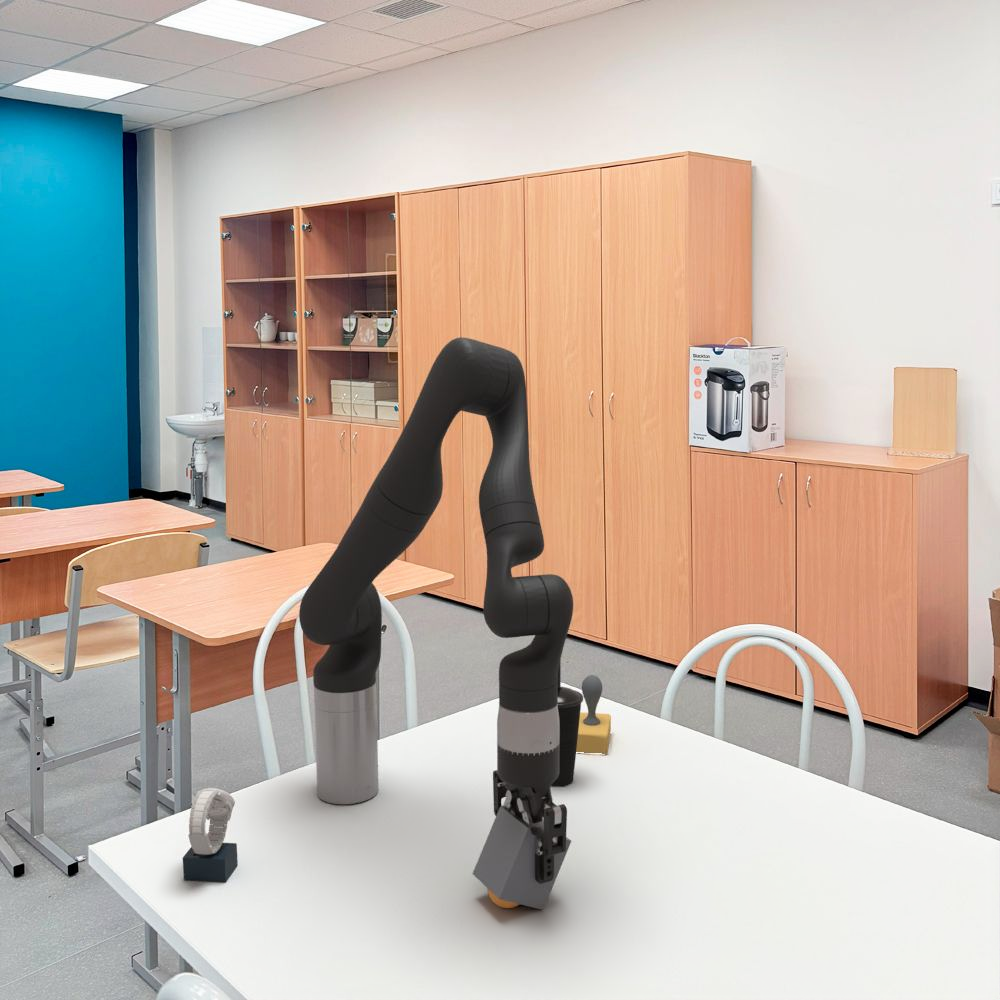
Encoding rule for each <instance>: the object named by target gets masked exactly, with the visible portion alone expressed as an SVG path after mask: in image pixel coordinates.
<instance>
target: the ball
mask: <svg viewBox="0 0 1000 1000" xmlns="http://www.w3.org/2000/svg"><path fill="white" fill-rule="evenodd" d="M486 890H487V894H488V896H489V898H490V900H491V901H492V902H493V903H494V904H495V905H497V906H498V907H500V908H503V909H512V908H516V907H518V906H520V904H517V903H513V902H509V901H505V900H501V899H498V898H497V897H496V896H495V895H494V894H493V893H492V892H491V891H490V890H489V889H488V888H487V887H486Z"/></svg>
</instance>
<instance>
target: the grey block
mask: <svg viewBox="0 0 1000 1000" xmlns="http://www.w3.org/2000/svg"><path fill="white" fill-rule="evenodd" d="M501 806H502V805H501ZM501 806H500V808H499V811H498V813H497V816H495V818H494V821H493V823H492V826H491V828H490V830H489V833H488V835H487V838H486V840H485V843H484V845H483V847H482V850H481V852H480V853H479V856H478V859H477V862H476V864H475V867H474V869H473V871H472V875H473V876H474V877H475V878H476V879H477V880H479V882H481V884H483V886H485V887H486V889H487V888H488V889H489V890H490V891H491V892H492V893H493V894H494V895H495V896H496V897H497V898H498V899H501V900H505V901H509V902H513V903H517V904H519V905H523V906H526V907H531V908H534V909H538V910H542V911H543V910H544V909H545V906H546V905H547V902H548V899H549V897H550V895H551V892H552V890H553V887H554V885H555V882H556V879H557V877H558V875H559V872H560V870H561V867H562V865H563V863H564V861H565V858H566V855H567V853H568V851H569V848H570V845H571V843H572V840H571V839H570V838H568V837H567V836H566V851H565V852H563V853H560V854H556V855H554V878H553V880H552V881H549V882H546V883H542V884H539V883H538V882H537V881H536V880H535V853H536V851H535V847H534V836H533V835H531V829H530V828H529V827H528V826H526V825H525V824H524V821H523V820H522V818H519V817H518V816H517V815H515V812H513V811H511V812H510V811H507V810H506V809H505V808H503V807H501ZM533 825H534V826H535V827H541V826H544V821H541V822H538V823H534V824H533ZM540 838H541V842H542V844H543V833H540ZM555 838H556V842H557V837H555Z"/></svg>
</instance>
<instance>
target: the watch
mask: <svg viewBox="0 0 1000 1000" xmlns="http://www.w3.org/2000/svg"><path fill="white" fill-rule="evenodd" d="M235 804H236V802H235V798H234V797H233V796H232V795H231V794H230V793H229V792H227V791H225V790H222V789H221V788H220V789H219V788H216V787H215V788H214V787H207V788H204V789H201V790H198V791H197V792H196V795H195V797H194V799H193V801H192V804H191V808H190V812H189V820H188V822H189V824H188V829H189V830H188V831H189V832H188V835H187V836H188V839H189V843H190V848H189V849H188V850H187V852H186V853H185V854H184V855H183V856H182V867H183V868H182V871H183V881H187V882H204V883H205V882H206V883H207V882H208V883H210V882H211V883H227V882H228V880H229V879H230V877H231V876H232V874H233V873H234V872H235V871H236V869H237V867H238V866H239V865H238V844H237V843H235V842H224V841H225V838H226V834H227V829H228V822H230V820H231V817H232V815H233V814H232V813H233V809H234V807H235ZM207 820H208V821H209V826H208V832H207V831H206V823H207V822H206V821H207ZM206 832H207V833H206Z"/></svg>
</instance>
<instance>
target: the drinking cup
mask: <svg viewBox="0 0 1000 1000" xmlns="http://www.w3.org/2000/svg"><path fill="white" fill-rule="evenodd" d="M561 659H562V658H561ZM561 659H560V663H559V668H558V713H559V723H560V751H559V776H558V778H557V779H556V780H555V781H554V782H553V783H552V785H551V786H550V787H556V786H561V787H566V785H567V786H569V784H570V785H571V784H572V783H574V778H575V776H574V775H575V766H576V765H575V764H576V759H577V758H576V756H577V754H576V749H577V739H578V729H579V719H580V712H581V709H582V708H581V707H582V702H583V701H584V696H583V693H581V692H580V691H578V690H575V689H573V688H570V687H566V686H562V685H561V680H562V679H561V678H562V677H561V673H562V672H561V666H562V664H561V662H562V660H561ZM583 703H584V702H583Z"/></svg>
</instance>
